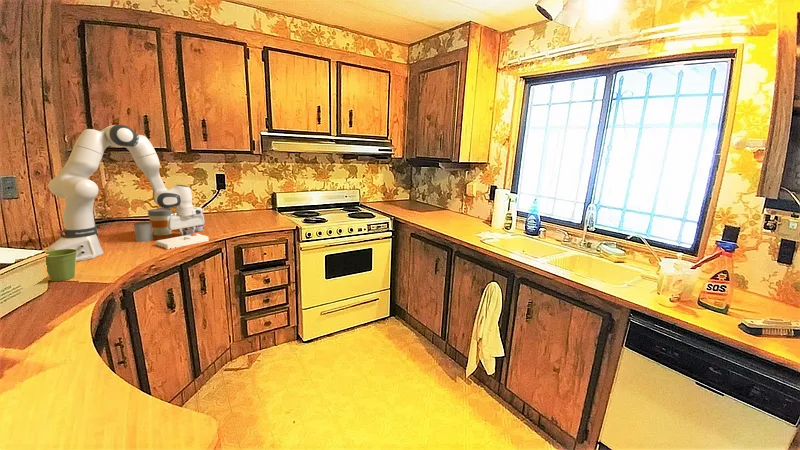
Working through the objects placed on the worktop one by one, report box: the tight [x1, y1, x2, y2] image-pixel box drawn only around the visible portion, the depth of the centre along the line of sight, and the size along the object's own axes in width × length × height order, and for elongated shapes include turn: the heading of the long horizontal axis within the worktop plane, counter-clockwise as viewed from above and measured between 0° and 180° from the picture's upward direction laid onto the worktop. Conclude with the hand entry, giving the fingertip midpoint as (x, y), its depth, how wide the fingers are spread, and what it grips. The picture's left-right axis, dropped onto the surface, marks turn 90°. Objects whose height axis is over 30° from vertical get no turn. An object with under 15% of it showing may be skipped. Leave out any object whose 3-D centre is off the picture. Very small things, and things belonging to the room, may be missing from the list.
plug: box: [182, 227, 193, 236], centre depth 214 cm, size 4×6×6 cm
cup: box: [133, 221, 155, 243], centre depth 206 cm, size 8×8×10 cm
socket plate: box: [155, 232, 210, 250], centre depth 202 cm, size 22×13×3 cm, turn 146°
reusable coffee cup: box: [147, 207, 173, 236], centre depth 220 cm, size 12×12×15 cm
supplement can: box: [189, 206, 205, 233], centre depth 230 cm, size 8×8×15 cm
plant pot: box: [44, 249, 78, 282], centre depth 146 cm, size 12×12×11 cm
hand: (187, 234), depth 215 cm, fingers closed on plug, 4 cm apart
